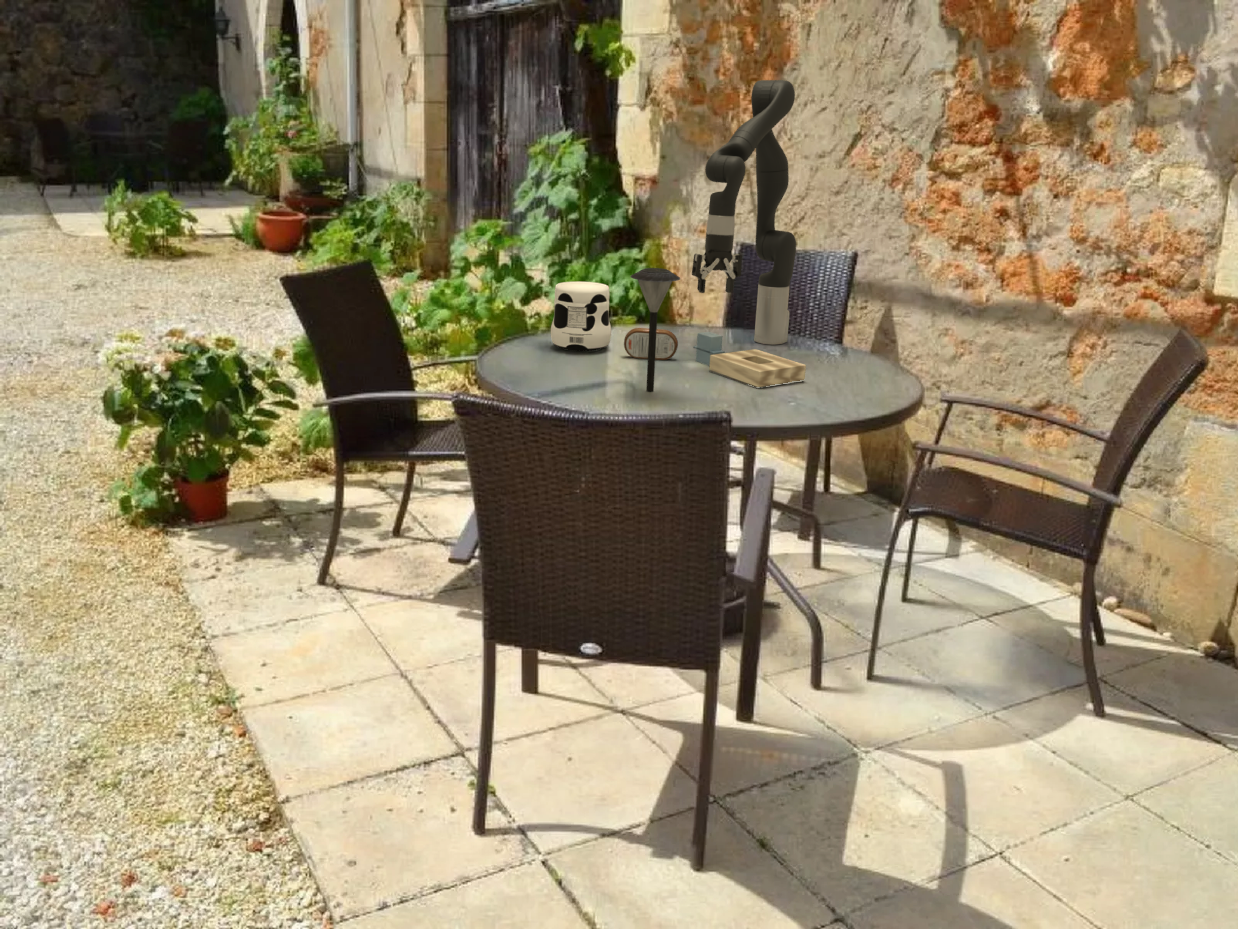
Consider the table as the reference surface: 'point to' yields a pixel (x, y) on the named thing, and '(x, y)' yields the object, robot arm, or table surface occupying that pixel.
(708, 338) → the grey-blue stepped block
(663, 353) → the tin
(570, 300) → the milk container
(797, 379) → the block
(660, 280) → the solar garden light
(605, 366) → the table surface
